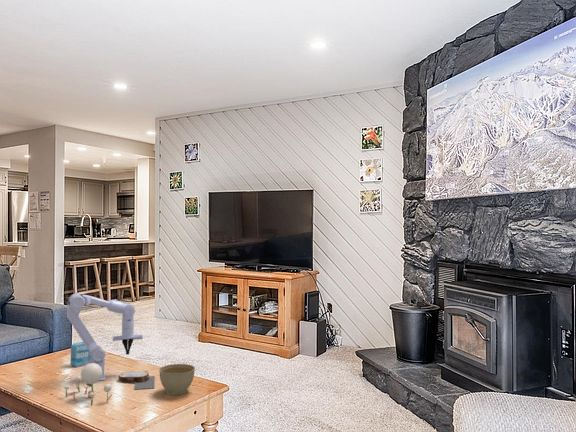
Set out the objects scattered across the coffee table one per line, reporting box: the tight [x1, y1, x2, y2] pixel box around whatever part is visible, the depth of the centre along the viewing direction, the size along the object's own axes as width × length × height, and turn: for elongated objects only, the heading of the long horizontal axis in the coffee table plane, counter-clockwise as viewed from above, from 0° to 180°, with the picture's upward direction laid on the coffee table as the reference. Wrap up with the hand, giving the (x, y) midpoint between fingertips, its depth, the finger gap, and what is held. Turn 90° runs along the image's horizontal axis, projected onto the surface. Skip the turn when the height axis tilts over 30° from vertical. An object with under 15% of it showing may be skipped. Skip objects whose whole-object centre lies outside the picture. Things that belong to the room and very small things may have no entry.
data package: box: [70, 341, 91, 368], centre depth 264 cm, size 12×4×12 cm, turn 143°
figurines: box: [64, 363, 113, 406], centre depth 213 cm, size 25×12×15 cm, turn 57°
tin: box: [118, 371, 150, 383], centre depth 239 cm, size 15×3×8 cm
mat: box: [134, 375, 156, 391], centre depth 235 cm, size 9×18×1 cm, turn 15°
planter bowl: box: [158, 363, 196, 396], centre depth 223 cm, size 16×16×11 cm
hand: (127, 353), depth 248 cm, fingers closed
